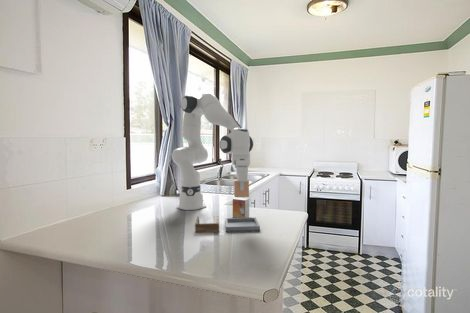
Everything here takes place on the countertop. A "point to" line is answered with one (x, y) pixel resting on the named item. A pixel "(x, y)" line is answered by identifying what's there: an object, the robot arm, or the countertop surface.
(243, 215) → the small box
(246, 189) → the tan wooden block
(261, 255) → the countertop surface
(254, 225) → the grey tray
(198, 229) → the walnut bay
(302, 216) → the countertop surface
